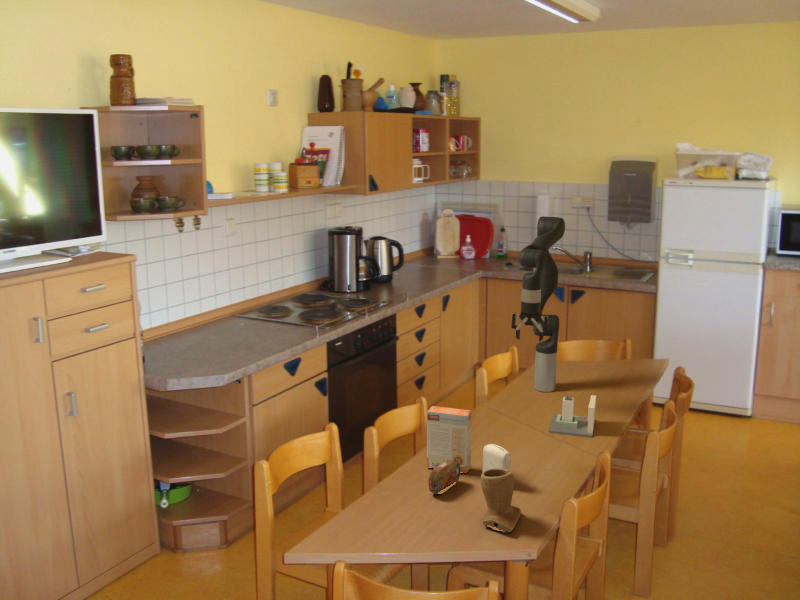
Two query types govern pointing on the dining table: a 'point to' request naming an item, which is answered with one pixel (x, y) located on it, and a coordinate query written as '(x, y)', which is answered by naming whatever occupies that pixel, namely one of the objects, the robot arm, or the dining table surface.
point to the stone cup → (499, 499)
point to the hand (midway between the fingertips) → (529, 339)
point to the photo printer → (496, 457)
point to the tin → (444, 476)
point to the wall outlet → (576, 423)
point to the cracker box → (449, 437)
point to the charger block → (567, 408)
